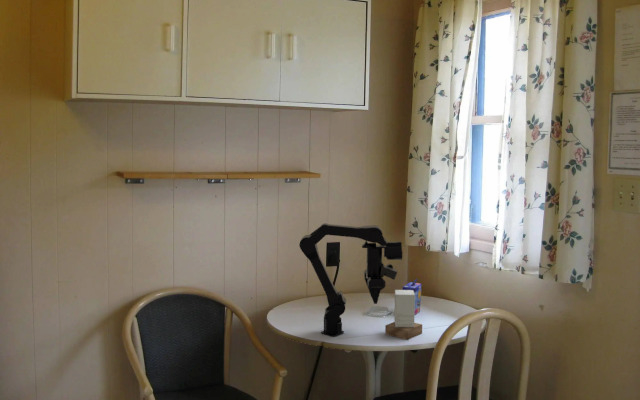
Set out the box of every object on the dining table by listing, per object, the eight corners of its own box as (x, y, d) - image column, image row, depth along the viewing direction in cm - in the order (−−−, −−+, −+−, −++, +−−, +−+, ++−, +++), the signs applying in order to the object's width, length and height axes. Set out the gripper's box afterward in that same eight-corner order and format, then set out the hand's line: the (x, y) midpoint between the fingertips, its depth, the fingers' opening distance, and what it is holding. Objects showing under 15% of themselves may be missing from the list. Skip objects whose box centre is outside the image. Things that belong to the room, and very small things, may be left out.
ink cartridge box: (413, 317, 257) (414, 282, 256) (401, 315, 260) (401, 281, 258) (421, 311, 266) (422, 277, 265) (409, 309, 269) (409, 276, 267)
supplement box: (413, 322, 238) (414, 289, 237) (414, 328, 231) (415, 294, 230) (394, 321, 239) (394, 289, 238) (394, 327, 232) (395, 294, 231)
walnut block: (385, 335, 235) (385, 325, 235) (399, 329, 242) (400, 319, 242) (407, 341, 228) (407, 330, 228) (422, 334, 236) (422, 324, 236)
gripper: (399, 264, 223) (399, 306, 225) (392, 254, 242) (391, 294, 243) (368, 264, 223) (368, 307, 224) (363, 254, 241) (363, 294, 243)
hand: (374, 300), depth 234 cm, fingers open, 9 cm apart
